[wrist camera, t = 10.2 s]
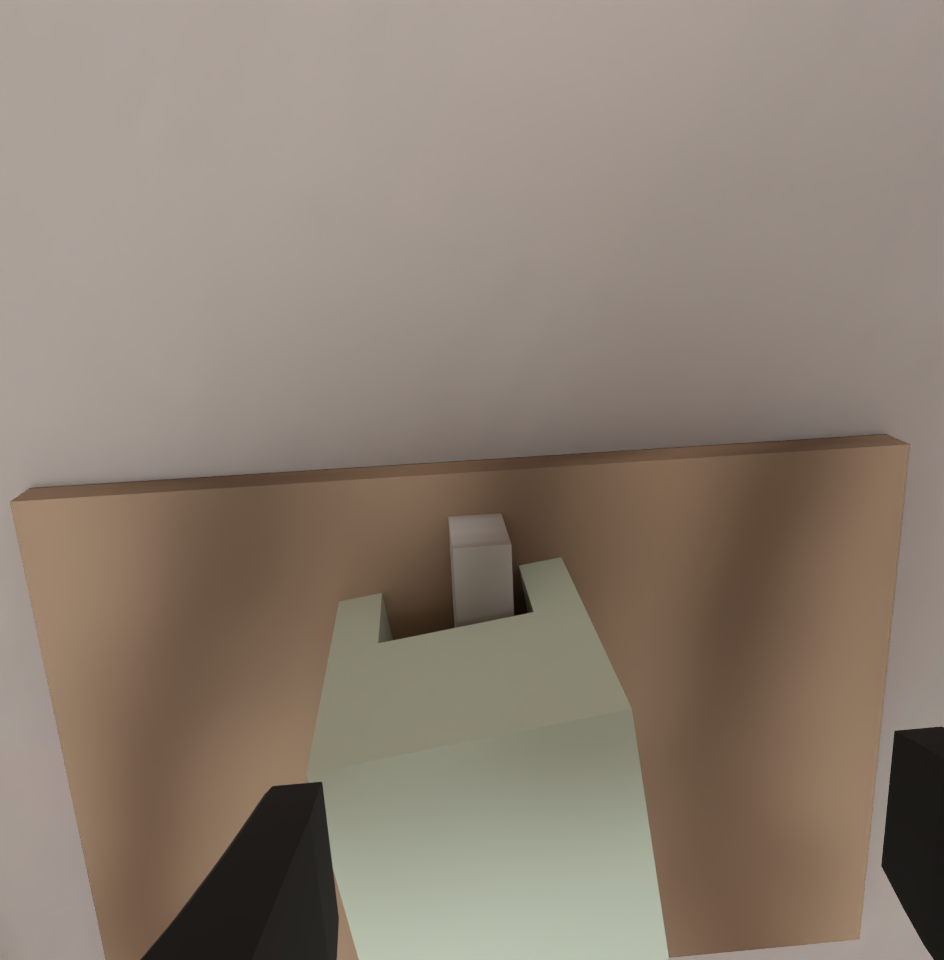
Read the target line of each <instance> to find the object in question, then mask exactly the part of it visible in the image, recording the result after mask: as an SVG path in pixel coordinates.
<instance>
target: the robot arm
mask: <svg viewBox="0 0 944 960" xmlns="http://www.w3.org/2000/svg"><path fill="white" fill-rule="evenodd" d="M882 868H883V870H884V872H885V874H886V875H887V877H888V879H889V881H890V883H891V885H892V887H893V889H894V891H895V893H896V895H897V897H898V899H899V901H900V903H901V904H902V906H903V908H904V910H905V912H906V914H907V915H908V917H909V919H910V921H911V923H912V924H913V926H914V928H915V930H916V932H917V933H918V935H919V937H920V939H921V941H922V942H923V944H924V946H925V947H926V949H927V950H928V952H929V953H930V955H931V956H932V957H933V959H934V960H944V727H933V728H922V729H911V730H899V731H895V733H894V743H893V753H892V763H891V774H890V784H889V794H888V804H887V815H886V825H885V835H884V845H883V855H882ZM338 927H339V914H338V906H337V898H336V890H335V882H334V874H333V866H332V858H331V850H330V842H329V833H328V825H327V817H326V809H325V801H324V793H323V785H322V782H313V783H301V784H290V785H279V786H272V787H271V788H270V789H269V790H268V791H267V792H266V793H265V794H264V796H263V797H262V799H261V800H260V802H259V803H258V805H257V806H256V807H255V809H254V810H253V812H252V813H251V815H250V816H249V818H248V819H247V821H246V822H245V824H244V825H243V827H242V828H241V829H240V831H239V832H238V834H237V835H236V837H235V838H234V839H233V841H232V842H231V844H230V845H229V846H228V848H227V849H226V851H225V852H224V853H223V855H222V856H221V858H220V859H219V860H218V862H217V863H216V865H215V866H214V867H213V869H212V870H211V871H210V873H209V874H208V875H207V877H206V878H205V879H204V881H203V882H202V883H201V885H200V886H199V887H198V888H197V890H196V891H195V892H194V894H193V895H192V896H191V898H190V899H189V900H188V902H187V903H186V904H185V906H184V907H183V908H182V910H181V911H180V912H179V913H178V915H177V916H176V917H175V919H174V920H173V921H172V922H171V924H170V925H169V926H168V927H167V928H166V930H165V931H164V932H163V933H162V934H161V936H160V937H159V938H158V939H157V940H156V942H155V943H154V944H153V945H152V946H151V947H150V949H149V950H148V951H147V952H146V953H145V955H144V956H143V957H142V958H141V959H140V960H337V946H338Z"/></svg>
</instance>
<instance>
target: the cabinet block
mask: <svg viewBox="0 0 944 960" xmlns="http://www.w3.org/2000/svg"><path fill="white" fill-rule="evenodd" d="M519 570H520V575H521V581H522V586H523V592H524V597H525V603H526V608H527V614H522V615H517V616H512V617H507V618H502V619H497V620H492V621H487V622H482V623H477V624H472V625H467V626H462V627H457V628H452V629H447V630H442V631H437V632H432V633H427V634H422V635H417V636H412V637H407V638H402V639H397V640H393V638H392V633H391V629H390V625H389V621H388V616H387V612H386V608H385V604H384V599H383V595H382V593H379V594H374V595H369V596H364V597H359V598H354V599H349V600H344V601H339V605H338V610H337V615H336V620H335V626H334V631H333V636H332V642H331V647H330V652H329V657H328V663H327V668H326V673H325V678H324V684H323V689H322V694H321V700H320V705H319V710H318V715H317V721H316V726H315V731H314V736H313V742H312V747H311V752H310V757H309V763H308V768H307V773H306V775H307V779H308V782H309V783H313V782H322V785H323V793H324V801H325V809H326V817H327V825H328V833H329V842H330V850H331V858H332V866H333V871H334V874H335V878H336V881H337V885H338V888H339V892H340V895H341V899H342V902H343V906H344V910H345V913H346V917H347V920H348V924H349V927H350V931H351V934H352V938H353V941H354V945H355V948H356V952H357V956H358V959H359V960H669V955H668V949H667V942H666V935H665V928H664V922H663V915H662V908H661V901H660V895H659V888H658V881H657V875H656V868H655V861H654V854H653V848H652V841H651V834H650V827H649V821H648V814H647V807H646V801H645V794H644V787H643V780H642V774H641V767H640V760H639V753H638V747H637V740H636V733H635V726H634V720H633V713H632V708H631V706H630V703H629V701H628V699H627V697H626V695H625V693H624V690H623V688H622V686H621V684H620V682H619V680H618V678H617V675H616V673H615V671H614V669H613V667H612V665H611V663H610V660H609V658H608V656H607V654H606V652H605V650H604V648H603V645H602V643H601V641H600V639H599V637H598V635H597V633H596V630H595V628H594V626H593V624H592V622H591V620H590V618H589V615H588V613H587V611H586V609H585V607H584V605H583V602H582V600H581V598H580V596H579V594H578V592H577V590H576V587H575V585H574V583H573V581H572V579H571V577H570V575H569V572H568V570H567V568H566V566H565V564H564V562H563V560H562V557H559V558H554V559H549V560H544V561H539V562H534V563H529V564H524V565H519Z"/></svg>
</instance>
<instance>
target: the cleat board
mask: <svg viewBox="0 0 944 960" xmlns="http://www.w3.org/2000/svg"><path fill="white" fill-rule="evenodd" d="M909 447H910V444H908V443H905V442H903V441H901V440H898V439H896V438H894V437H891V436H889V435H887V434H884V435H868V436H853V437H837V438H821V439H805V440H789V441H773V442H758V443H742V444H726V445H710V446H694V447H678V448H663V449H647V450H631V451H615V452H599V453H583V454H568V455H552V456H536V457H520V458H504V459H488V460H473V461H457V462H441V463H425V464H409V465H393V466H377V467H362V468H346V469H330V470H314V471H298V472H282V473H267V474H251V475H235V476H219V477H203V478H187V479H172V480H156V481H140V482H124V483H108V484H92V485H77V486H61V487H45V488H30V489H28V490H27V491H25V492H24V493H22V494H21V495H19V496H18V497H16V498H15V499H13V500H12V501H10V505H11V510H12V514H13V519H14V524H15V529H16V533H17V538H18V543H19V548H20V552H21V557H22V562H23V567H24V572H25V576H26V581H27V586H28V591H29V595H30V600H31V605H32V610H33V615H34V619H35V624H36V629H37V634H38V638H39V643H40V648H41V653H42V658H43V662H44V667H45V672H46V677H47V681H48V686H49V691H50V696H51V700H52V705H53V710H54V715H55V720H56V724H57V729H58V734H59V739H60V743H61V748H62V753H63V758H64V763H65V767H66V772H67V777H68V782H69V786H70V791H71V796H72V801H73V805H74V810H75V815H76V820H77V825H78V829H79V834H80V839H81V844H82V848H83V853H84V858H85V863H86V868H87V872H88V877H89V882H90V887H91V891H92V896H93V901H94V906H95V910H96V915H97V920H98V925H99V930H100V934H101V939H102V944H103V949H104V953H105V958H106V960H140V959H141V958H142V957H143V956H144V955H145V953H146V952H147V951H148V950H149V949H150V947H151V946H152V945H153V944H154V943H155V942H156V940H157V939H158V938H159V937H160V936H161V934H162V933H163V932H164V931H165V930H166V928H167V927H168V926H169V925H170V924H171V922H172V921H173V920H174V919H175V917H176V916H177V915H178V913H179V912H180V911H181V910H182V908H183V907H184V906H185V904H186V903H187V902H188V900H189V899H190V898H191V896H192V895H193V894H194V892H195V891H196V890H197V888H198V887H199V886H200V885H201V883H202V882H203V881H204V879H205V878H206V877H207V875H208V874H209V873H210V871H211V870H212V869H213V867H214V866H215V865H216V863H217V862H218V860H219V859H220V858H221V856H222V855H223V853H224V852H225V851H226V849H227V848H228V846H229V845H230V844H231V842H232V841H233V839H234V838H235V837H236V835H237V834H238V832H239V831H240V829H241V828H242V827H243V825H244V824H245V822H246V821H247V819H248V818H249V816H250V815H251V813H252V812H253V810H254V809H255V807H256V806H257V805H258V803H259V802H260V800H261V799H262V797H263V796H264V794H265V793H266V792H267V791H268V790H269V789H270V788H271V787H272V786H279V785H290V784H301V783H309V782H308V779H307V775H306V773H307V768H308V763H309V757H310V752H311V747H312V742H313V736H314V731H315V726H316V721H317V715H318V710H319V705H320V700H321V694H322V689H323V684H324V678H325V673H326V668H327V663H328V657H329V652H330V647H331V642H332V636H333V631H334V626H335V620H336V615H337V610H338V605H339V601H344V600H349V599H354V598H359V597H364V596H369V595H374V594H379V593H382V595H383V599H384V604H385V608H386V612H387V616H388V621H389V625H390V629H391V633H392V638H393V640H397V639H402V638H407V637H412V636H417V635H422V634H427V633H432V632H437V631H442V630H447V629H452V628H457V627H462V626H467V625H472V624H477V623H482V622H487V621H492V620H497V619H502V618H507V617H512V616H517V615H522V614H527V608H526V603H525V597H524V592H523V586H522V581H521V575H520V570H519V565H524V564H529V563H534V562H539V561H544V560H549V559H554V558H559V557H562V560H563V562H564V564H565V566H566V568H567V570H568V572H569V575H570V577H571V579H572V581H573V583H574V585H575V587H576V590H577V592H578V594H579V596H580V598H581V600H582V602H583V605H584V607H585V609H586V611H587V613H588V615H589V618H590V620H591V622H592V624H593V626H594V628H595V630H596V633H597V635H598V637H599V639H600V641H601V643H602V645H603V648H604V650H605V652H606V654H607V656H608V658H609V660H610V663H611V665H612V667H613V669H614V671H615V673H616V675H617V678H618V680H619V682H620V684H621V686H622V688H623V690H624V693H625V695H626V697H627V699H628V701H629V703H630V706H631V708H632V713H633V720H634V726H635V733H636V740H637V747H638V753H639V760H640V767H641V774H642V780H643V787H644V794H645V801H646V807H647V814H648V821H649V827H650V834H651V841H652V848H653V854H654V861H655V868H656V875H657V881H658V888H659V895H660V901H661V908H662V915H663V922H664V928H665V935H666V942H667V949H668V955H669V958H670V957H681V956H691V955H701V954H712V953H722V952H733V951H743V950H753V949H764V948H774V947H785V946H795V945H805V944H816V943H826V942H837V941H847V940H858V939H860V929H861V919H862V909H863V899H864V889H865V880H866V870H867V860H868V850H869V840H870V830H871V821H872V811H873V801H874V791H875V781H876V771H877V762H878V752H879V742H880V732H881V722H882V712H883V702H884V693H885V683H886V673H887V663H888V653H889V643H890V634H891V624H892V614H893V604H894V594H895V584H896V575H897V565H898V555H899V545H900V535H901V525H902V516H903V506H904V496H905V486H906V476H907V466H908V457H909ZM333 874H334V871H333ZM334 882H335V890H336V898H337V906H338V914H339V927H338V946H337V960H359V959H358V956H357V952H356V948H355V945H354V941H353V938H352V934H351V931H350V927H349V924H348V920H347V917H346V913H345V910H344V906H343V902H342V899H341V895H340V892H339V888H338V885H337V881H336V878H335V874H334Z"/></svg>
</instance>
